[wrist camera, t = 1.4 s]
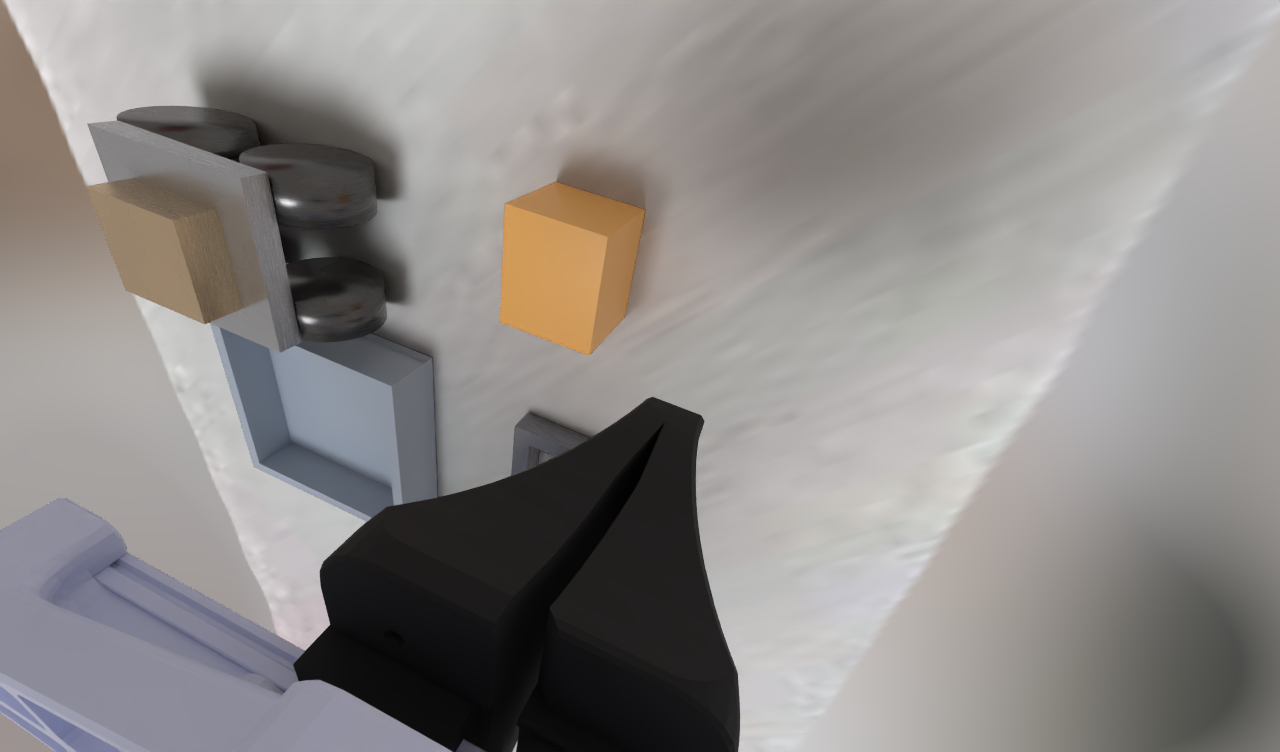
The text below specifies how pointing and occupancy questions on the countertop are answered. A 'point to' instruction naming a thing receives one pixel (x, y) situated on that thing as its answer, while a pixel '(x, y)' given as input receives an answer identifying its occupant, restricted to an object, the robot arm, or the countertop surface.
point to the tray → (338, 418)
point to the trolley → (234, 224)
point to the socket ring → (540, 441)
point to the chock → (568, 264)
